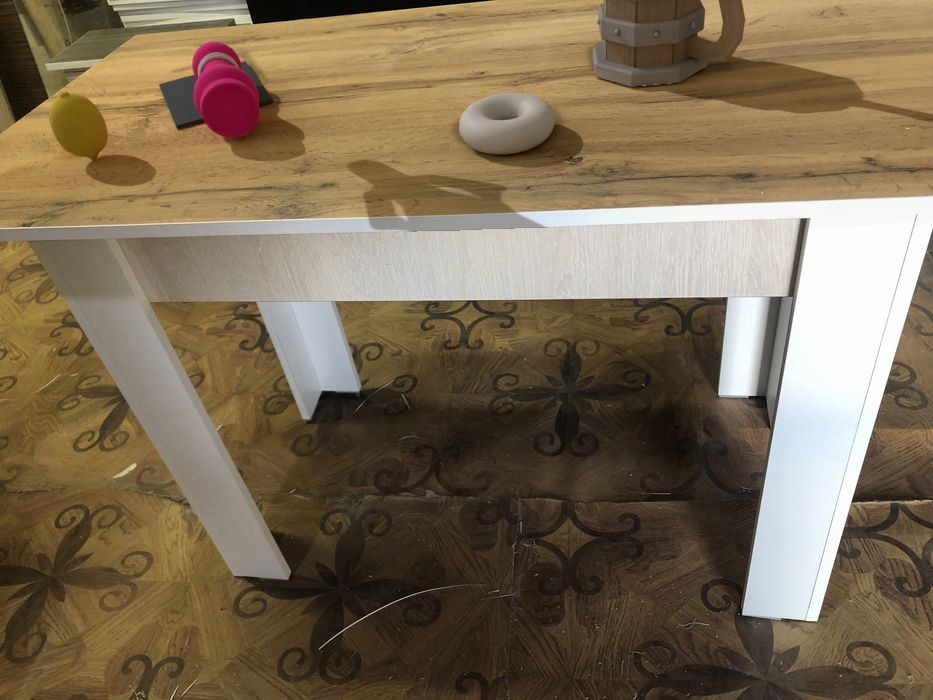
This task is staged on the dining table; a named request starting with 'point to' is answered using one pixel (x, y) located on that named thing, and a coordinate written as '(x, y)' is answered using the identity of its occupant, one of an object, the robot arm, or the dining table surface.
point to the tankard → (661, 40)
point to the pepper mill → (224, 91)
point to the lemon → (78, 125)
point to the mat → (182, 98)
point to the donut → (506, 123)
